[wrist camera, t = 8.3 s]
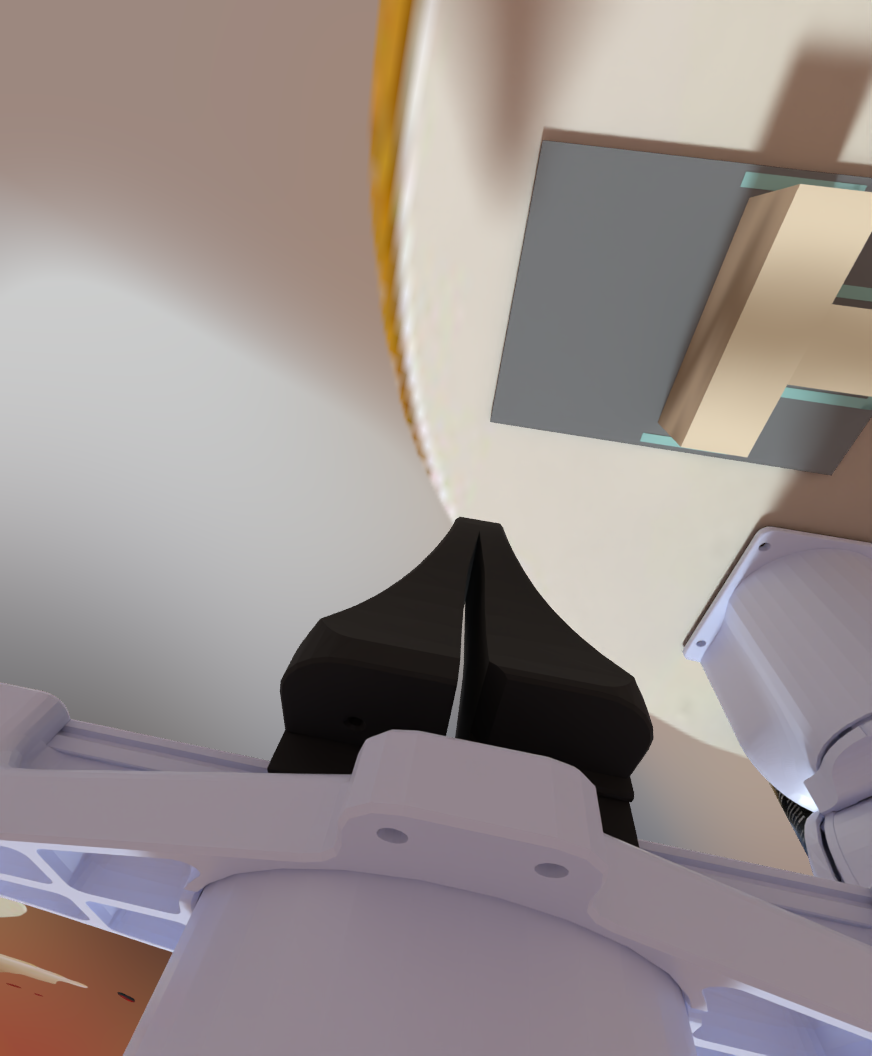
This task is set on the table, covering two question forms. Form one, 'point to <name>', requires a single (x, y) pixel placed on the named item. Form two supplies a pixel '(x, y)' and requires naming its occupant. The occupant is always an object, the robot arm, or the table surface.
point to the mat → (648, 301)
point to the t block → (775, 319)
